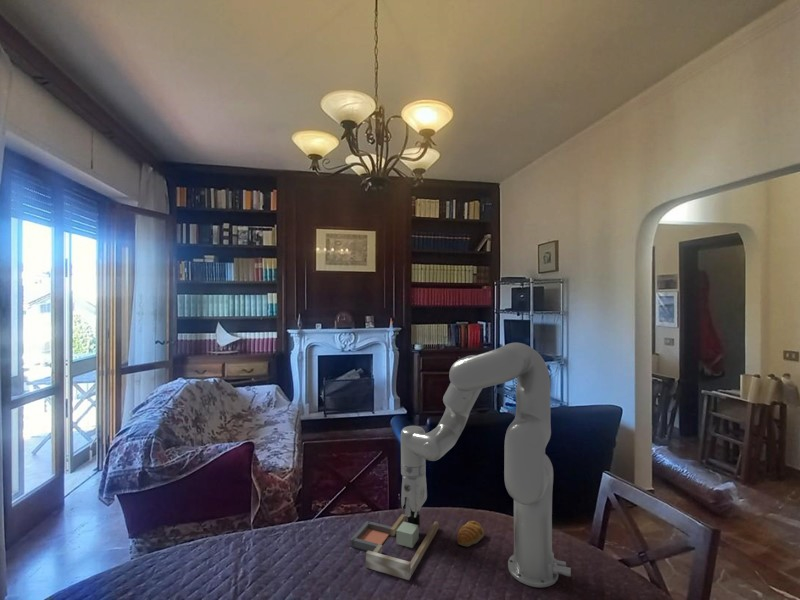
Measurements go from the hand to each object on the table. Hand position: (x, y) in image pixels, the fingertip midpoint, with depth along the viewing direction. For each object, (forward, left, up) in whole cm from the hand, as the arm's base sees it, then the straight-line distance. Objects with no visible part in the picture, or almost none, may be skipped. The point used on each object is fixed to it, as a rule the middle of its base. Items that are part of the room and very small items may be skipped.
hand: (413, 527), depth 124 cm
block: (0, +5, -2) cm, 5 cm away
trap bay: (+10, +8, -2) cm, 13 cm away
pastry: (-17, -4, -2) cm, 17 cm away
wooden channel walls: (0, +7, -2) cm, 7 cm away
